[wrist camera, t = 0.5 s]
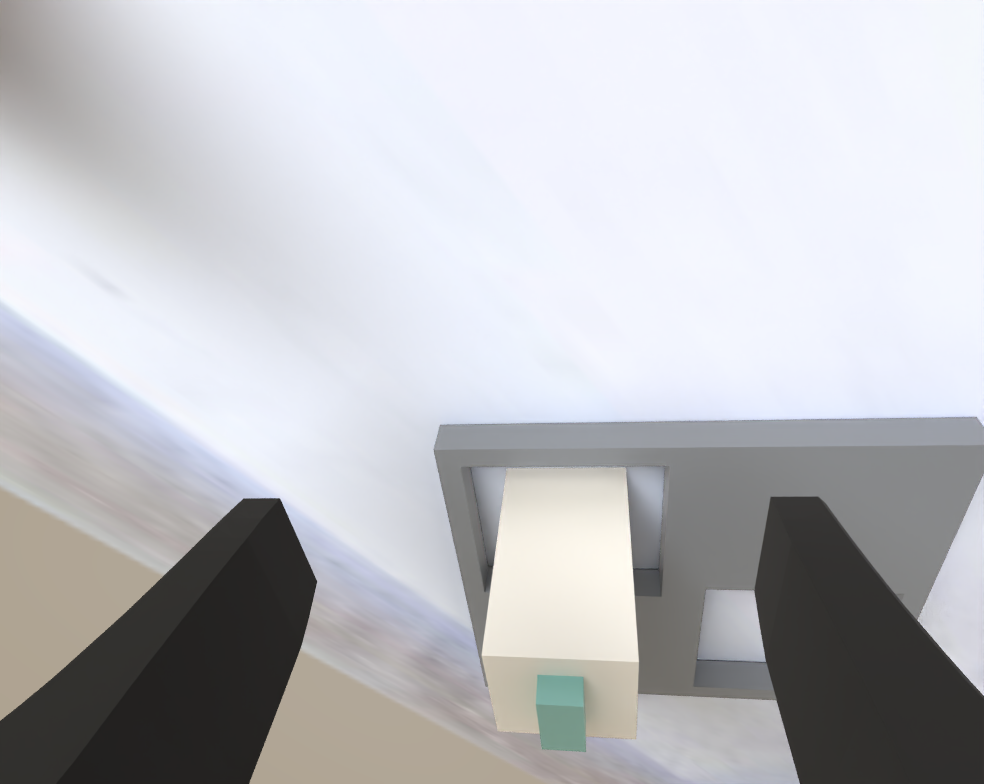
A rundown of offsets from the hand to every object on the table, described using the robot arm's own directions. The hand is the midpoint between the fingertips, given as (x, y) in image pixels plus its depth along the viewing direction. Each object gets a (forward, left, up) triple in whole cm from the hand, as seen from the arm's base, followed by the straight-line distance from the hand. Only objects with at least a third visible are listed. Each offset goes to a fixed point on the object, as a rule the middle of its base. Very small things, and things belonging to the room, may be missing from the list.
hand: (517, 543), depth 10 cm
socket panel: (-4, +13, -10) cm, 17 cm away
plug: (0, +10, -10) cm, 14 cm away
